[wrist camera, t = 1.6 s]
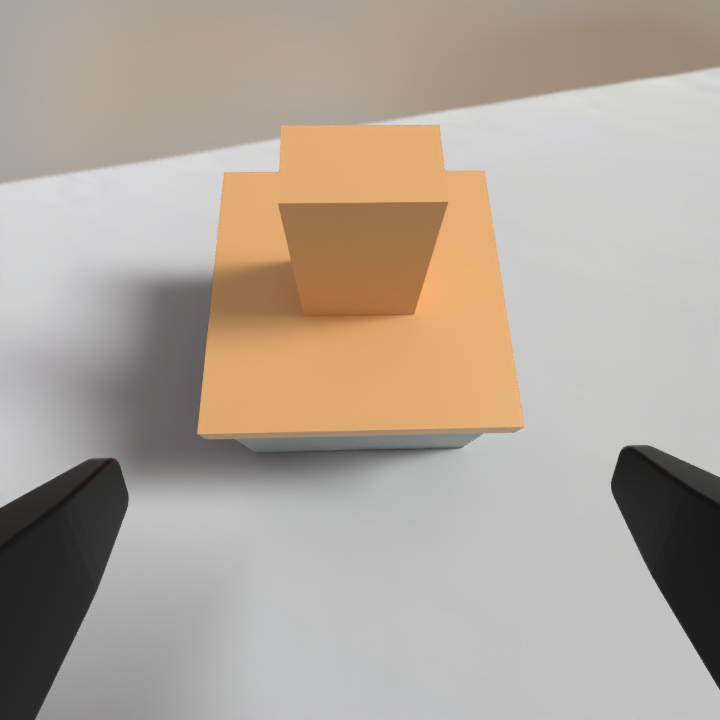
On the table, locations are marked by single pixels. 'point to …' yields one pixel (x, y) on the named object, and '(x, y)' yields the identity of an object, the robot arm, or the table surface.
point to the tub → (358, 442)
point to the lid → (357, 294)
